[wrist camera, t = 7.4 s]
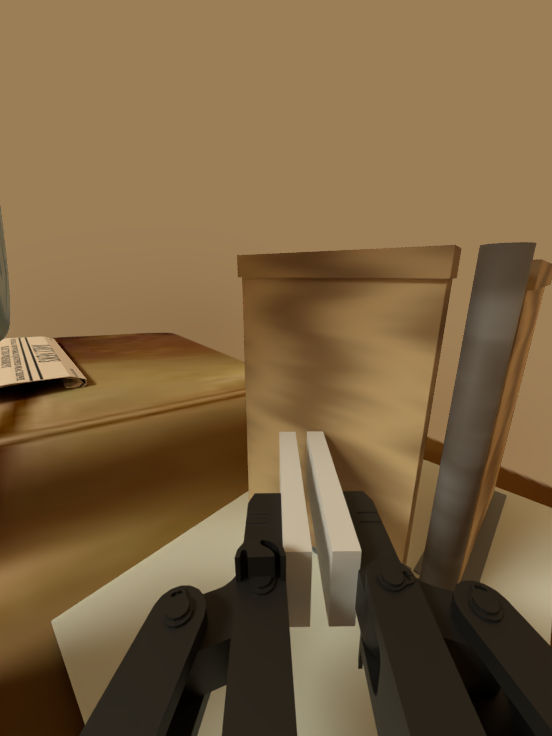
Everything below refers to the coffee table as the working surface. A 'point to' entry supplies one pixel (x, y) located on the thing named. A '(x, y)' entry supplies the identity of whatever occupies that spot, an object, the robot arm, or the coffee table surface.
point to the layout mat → (319, 641)
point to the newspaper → (36, 362)
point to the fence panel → (380, 376)
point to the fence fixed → (509, 395)
